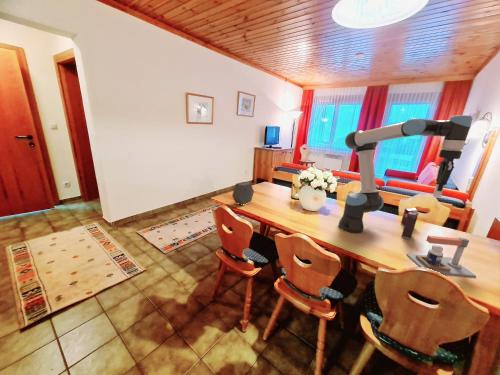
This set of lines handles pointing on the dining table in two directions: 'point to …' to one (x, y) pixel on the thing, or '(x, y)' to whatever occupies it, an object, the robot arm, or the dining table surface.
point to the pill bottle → (434, 255)
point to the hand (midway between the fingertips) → (436, 196)
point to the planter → (243, 193)
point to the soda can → (406, 214)
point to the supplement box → (409, 224)
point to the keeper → (448, 241)
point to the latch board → (444, 264)
